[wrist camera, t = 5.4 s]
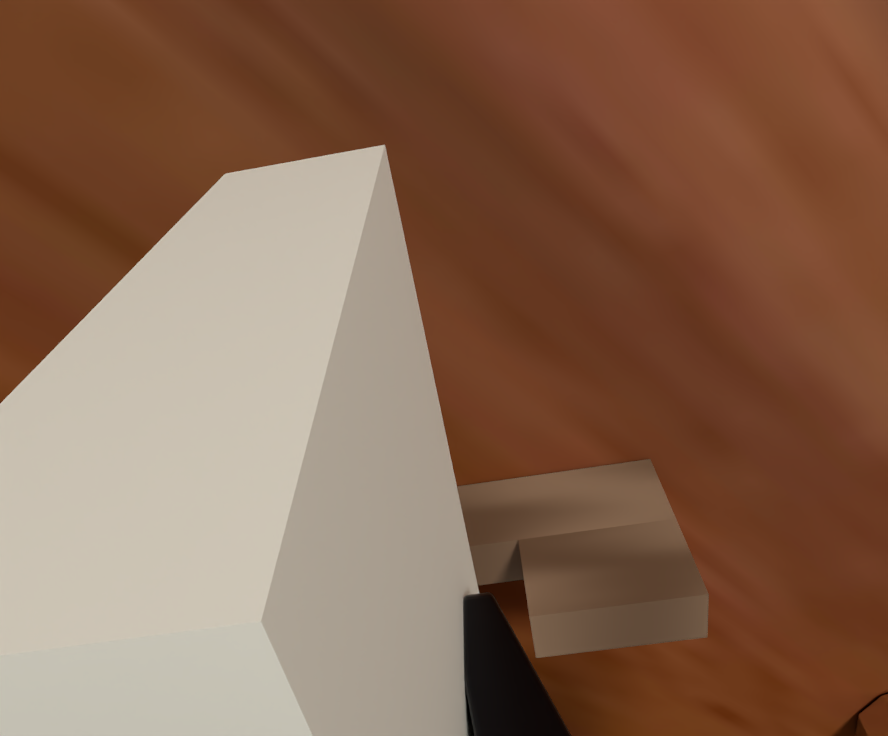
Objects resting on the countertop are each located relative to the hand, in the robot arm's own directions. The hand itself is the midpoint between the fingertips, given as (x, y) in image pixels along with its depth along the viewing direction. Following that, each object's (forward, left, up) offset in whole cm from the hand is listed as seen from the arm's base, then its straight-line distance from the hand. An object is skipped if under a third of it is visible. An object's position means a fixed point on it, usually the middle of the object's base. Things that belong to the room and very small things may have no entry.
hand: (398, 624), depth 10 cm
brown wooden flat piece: (0, -4, -6) cm, 7 cm away
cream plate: (0, 0, -2) cm, 2 cm away
